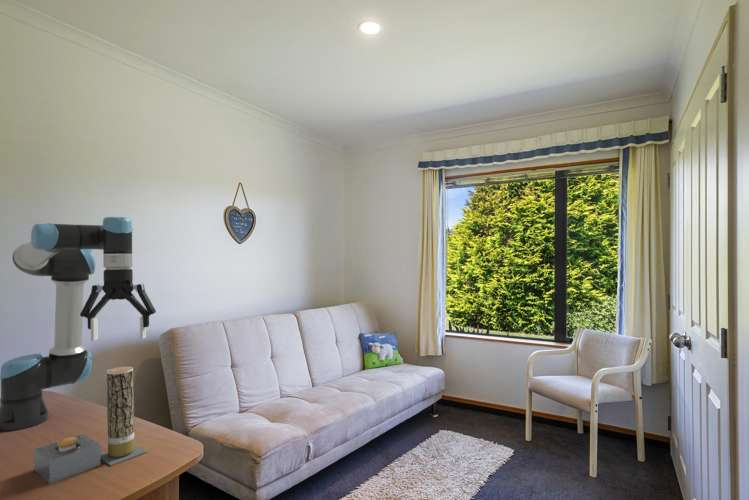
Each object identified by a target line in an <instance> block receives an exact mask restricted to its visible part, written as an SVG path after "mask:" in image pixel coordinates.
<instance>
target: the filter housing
mask: <svg viewBox="0 0 749 500" xmlns="http://www.w3.org/2000/svg"><path fill="white" fill-rule="evenodd" d="M75 437H76V438H77V443H76V448H73V449H69V450H66V451H63V452H59V447H58V446H57V442H58V441H57V442H53V443H50V444H47V445H43V446H40V447H38V448H34V449H33V451H34V453H33V454H34V455H33V456H34V459H33V461H34V465H33V466H34V472H35V473H36V474H38V475H39V476H40V477H41V479H43V480H44V481H46V482H47V483H48V484H49V485H51V484H53V483H57V482H59V481H63V480H65V479H67V478H70V477H73V476H75V475H78V474H81V473H84V472H87V471H89V470H91V469H94V468H97V467H101V460H100V454H101V443H98V442H97V441H95V440H94V439H92V438H91V437H89V436H88V435H85V434H84V433H83V434H80V435H77V436H75Z"/></svg>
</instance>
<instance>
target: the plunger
mask: <svg viewBox="0 0 749 500" xmlns="http://www.w3.org/2000/svg"><path fill="white" fill-rule="evenodd" d="M76 443H77V438H76V436H73V437H72V436H71V437H66V438H63V439H60V440H59V441H57V446H58V447H59V452H63V451H66V450H69V449H73V448H76Z"/></svg>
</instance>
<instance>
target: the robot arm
mask: <svg viewBox="0 0 749 500" xmlns="http://www.w3.org/2000/svg"><path fill="white" fill-rule="evenodd" d="M132 223H133V222H132V219H131V218H130V217H125V216H124V217H122V216H107V217H104V218H103V219H102V224H101V225H100V224H99V225H98V224H71V223H70V224H66V223H64V224H63V223H49V222H48V223H36V224H34V225H33V226H32V230H31V234H30V241H29V242H26V243H23V244H20V245H19V246H18V247H17V248H15V250H14V251H13V253H12V263H13V264H14V265H15V267H16V268H17V269H18V270H19V271H21V272H22V273H25V274H28V275H31V276H36V277H51V278H50V280H51V282H53V283H54V284H55V312H54V314H55V315H54V341H53V342H54V344H53V345H54V346H53V347H51V348H50V349H49V351H48V355H47V356H43V355H42V354H41V353H32V354H26V355H22V356H21V355H20V356H18V357H15V358H12V359H11V358H10V359H9V360H7V361H5V362H3V364H2V365H1V367H0V430H2V432H7V431H16V430H17V431H18V430H21V429H26V428H30V427H34V426H38V425H39V424H41V423H44V422H46V421H47V420H48V419H49V418H50V413H49V409H48V407H47V404H46V402H45V400H44V398H43V390H47V389H51V388H56V387H61V386H66V385H73V384H76V383H79V382H83V381H84V380H86V379H87V378H88V377H89V375H90V373H91V370H92V364H93V362H92V354H91V351H90V350H88V349H87V347H86V346H85V345H84V344H83V343H82V342H83V341H82V340H83V318H85V319H87V329H88V330H90V341H91V342H94V341H97V340H98V339H99V317H97V314H99V312H100V311H101V310H102V309H103V308H104V307H105V306H106V305H107V304H108V302H109V301H115V300H120V301H121V300H126V301H128V302H129V303H130V304H131V305H132V306H133V307H134V309H136V311H137V312H138V313H139V314H140V315H141V316H140V317H139V339H140V340H143V339H146V338H147V328H148V327H149V325H150V316H151V315H153V314H155V313H157V310H156V309H155V307H154V305H153V303H152V301H151V299H150V297H149V296H148V294H147V292H146V290H145V285H144V283H139V284H133V280H134V278H133V274H134V273H133V269H132V267H133V226H132V225H133V224H132ZM93 250H98V251H99V250H101V251H102V250H103V251H102V253H103V257H102V258H103V268H105V269H104V270H103V285H100V284H94V285H92V286H91V291H90V294H89V296H88V298H87V300H86V301H85V304H84V287H85V286H84V285H85V283H87V282H88V281H89V280H90V275H93V274H94V273H95V271H96V259H95V255H94V253H93ZM134 290H135V291H136V292H137V294H138V296H139V298H140V300H141V302H142V303H143V304H142V303H141V302H140V301H139V300H138V299H137V298H136V296H135V294H133V293H132V292H133V291H134ZM102 291H103V293H105V294H104V295H103V296H102V297H101V299H100V300H98V301H99V302H98V303H97V304H96V305H95V306H94V304H95V302H96V301H97V298H98V297H99V295H100V293H102Z"/></svg>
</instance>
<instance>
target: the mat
mask: <svg viewBox="0 0 749 500" xmlns="http://www.w3.org/2000/svg"><path fill="white" fill-rule="evenodd" d="M147 453H148V451H147V450H145V449H144V448H141V447H140V446H138V445H136V444H134V450H133V452H132V453H130V454H128V455H126V456H123V457H117V458H114V457H110V456H109V455H108V450H106V451H105V452H101V453H100V461H102V462H103V463H104V464H107V465H108V466H110V467H112V466H116V465H118V464H120V463H123V462H126V461H129V460H131V459H134V458H137V457H139V456H142V455H144V454H147Z"/></svg>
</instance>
